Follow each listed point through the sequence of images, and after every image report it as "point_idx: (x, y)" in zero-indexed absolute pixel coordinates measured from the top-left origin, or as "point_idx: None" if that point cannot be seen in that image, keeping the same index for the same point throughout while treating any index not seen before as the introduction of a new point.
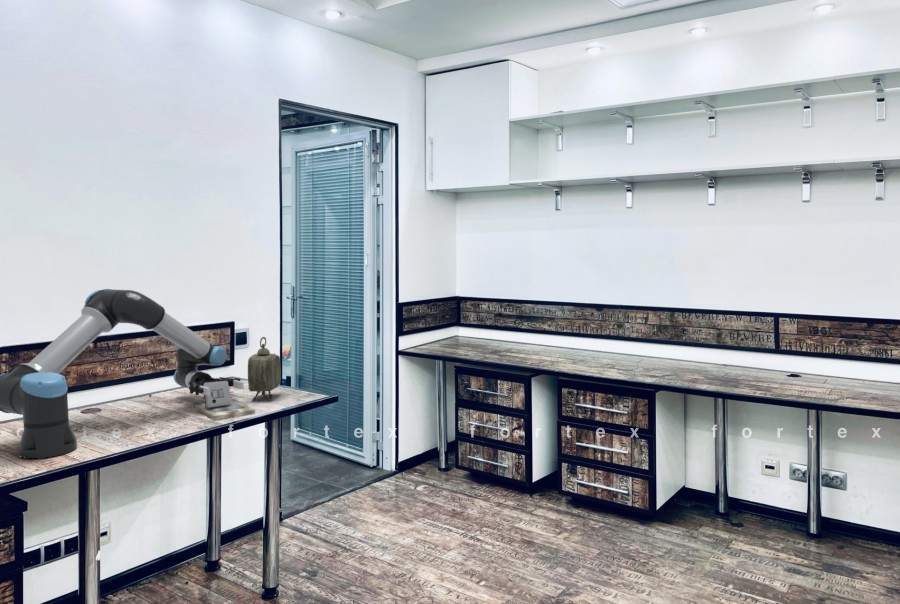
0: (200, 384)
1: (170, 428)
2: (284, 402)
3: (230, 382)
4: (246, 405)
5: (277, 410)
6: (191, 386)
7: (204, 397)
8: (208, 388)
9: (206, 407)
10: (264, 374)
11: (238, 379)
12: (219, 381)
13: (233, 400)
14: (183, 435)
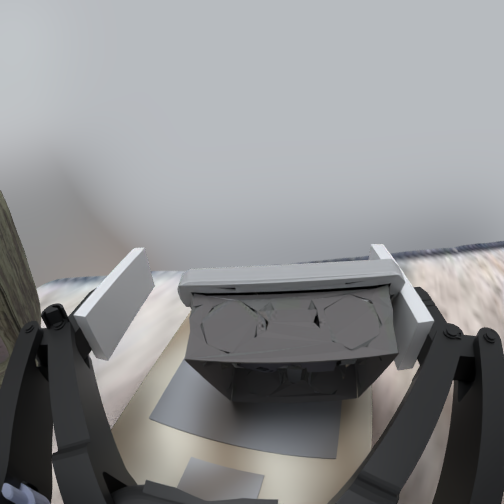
0: (413, 395)
1: (475, 301)
2: (67, 313)
3: (81, 362)
4: (182, 326)
5: (158, 276)
6: (490, 333)
7: (371, 374)
8: (377, 245)
9: (339, 426)
10: (20, 245)
11: (39, 325)
12: (255, 266)
13: (123, 442)
14: (439, 254)
